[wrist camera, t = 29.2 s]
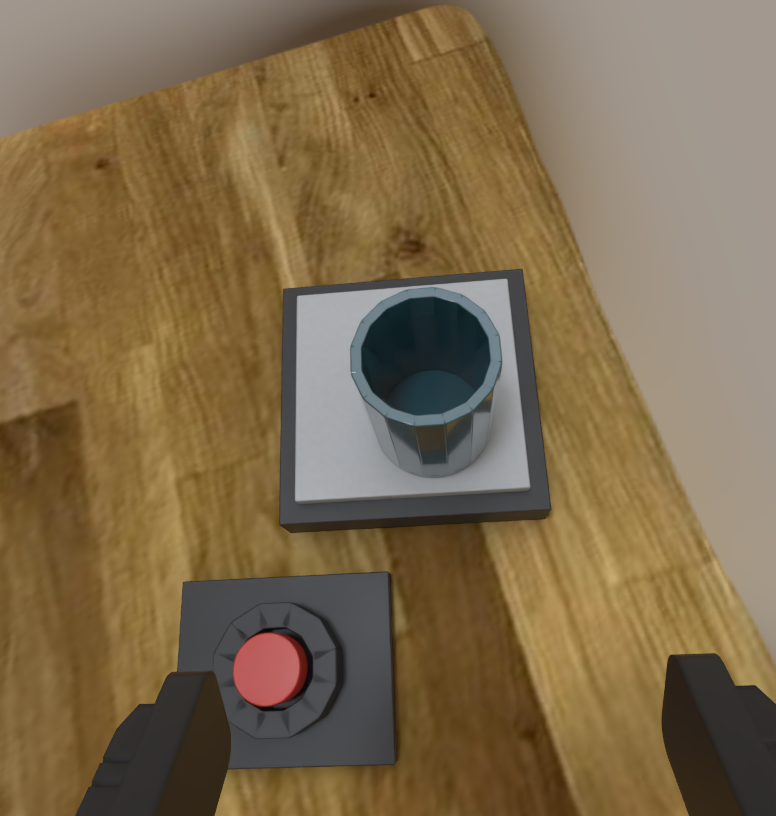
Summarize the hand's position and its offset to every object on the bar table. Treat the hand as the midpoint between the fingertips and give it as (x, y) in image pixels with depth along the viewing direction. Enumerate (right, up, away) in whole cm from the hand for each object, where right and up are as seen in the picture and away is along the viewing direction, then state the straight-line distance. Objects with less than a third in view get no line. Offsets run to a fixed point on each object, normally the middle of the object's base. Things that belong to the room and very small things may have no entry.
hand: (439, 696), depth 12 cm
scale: (0, +5, +28) cm, 28 cm away
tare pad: (-6, -8, +24) cm, 26 cm away
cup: (+1, +4, +24) cm, 24 cm away
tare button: (-6, -7, +21) cm, 23 cm away
